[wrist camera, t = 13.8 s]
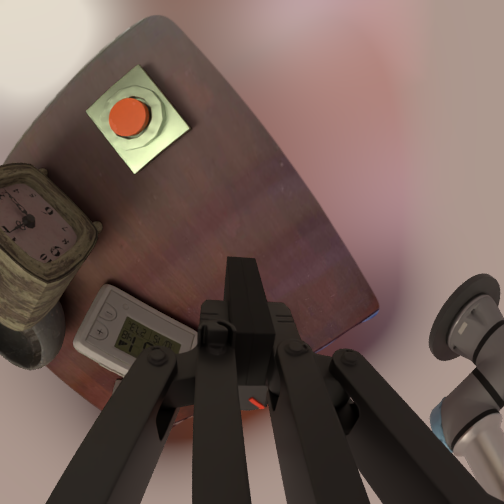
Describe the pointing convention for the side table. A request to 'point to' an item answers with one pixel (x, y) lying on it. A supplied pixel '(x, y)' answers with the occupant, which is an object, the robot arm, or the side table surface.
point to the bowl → (34, 341)
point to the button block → (157, 130)
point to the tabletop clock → (37, 244)
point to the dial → (252, 396)
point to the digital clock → (127, 330)
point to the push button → (128, 117)
